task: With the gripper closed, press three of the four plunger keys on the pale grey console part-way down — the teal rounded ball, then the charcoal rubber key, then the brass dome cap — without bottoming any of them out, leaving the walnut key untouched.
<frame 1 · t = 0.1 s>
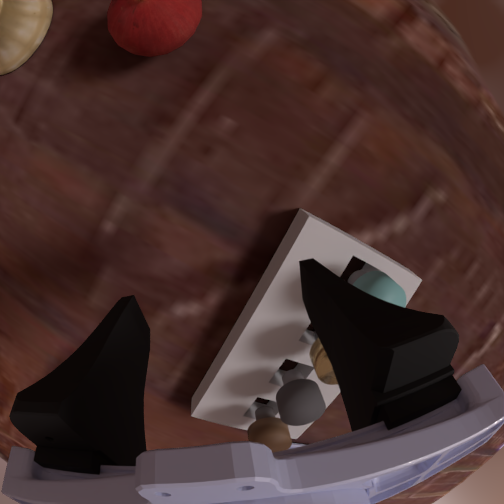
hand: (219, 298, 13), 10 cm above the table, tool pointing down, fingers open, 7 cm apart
walnut key: (267, 428, 25), point 5 cm above the table, slide at 0.0 cm
hand bell: (16, 31, 15), on the table
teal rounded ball: (370, 293, 21), point 5 cm above the table, slide at 0.0 cm
console: (297, 341, 27), on the table
brass dome cap: (332, 348, 22), point 5 cm above the table, slide at 0.0 cm
onion: (163, 32, 17), on the table
charcoal key: (297, 393, 23), point 5 cm above the table, slide at 0.0 cm
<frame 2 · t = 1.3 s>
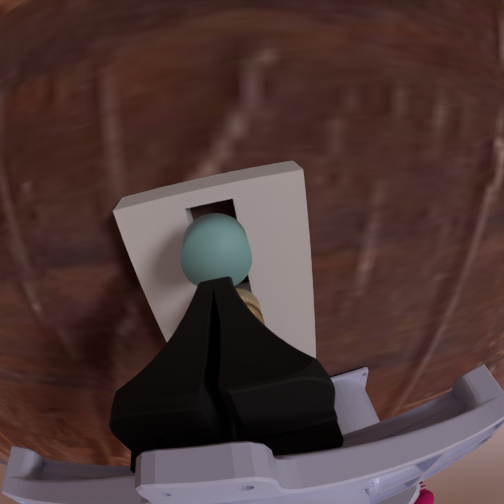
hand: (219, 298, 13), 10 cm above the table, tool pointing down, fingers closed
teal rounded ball: (215, 242, 17), point 5 cm above the table, slide at 0.0 cm
pepper mill: (393, 442, 51), on the table
console: (234, 300, 26), on the table
brass dome cap: (232, 309, 20), point 5 cm above the table, slide at 0.0 cm
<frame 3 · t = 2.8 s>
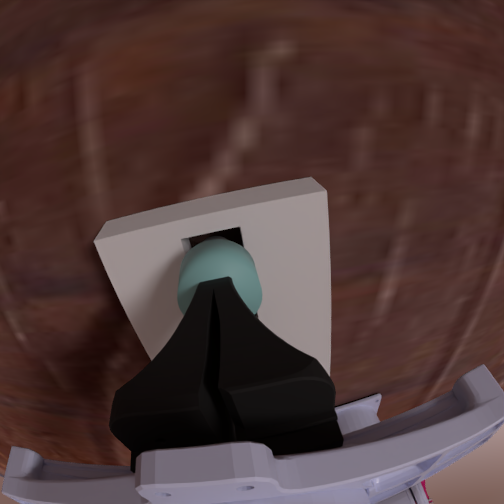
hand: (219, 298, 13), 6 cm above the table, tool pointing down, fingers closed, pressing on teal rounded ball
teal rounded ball: (217, 272, 15), point 4 cm above the table, slide at 1.0 cm, touching gripper
console: (239, 334, 22), on the table
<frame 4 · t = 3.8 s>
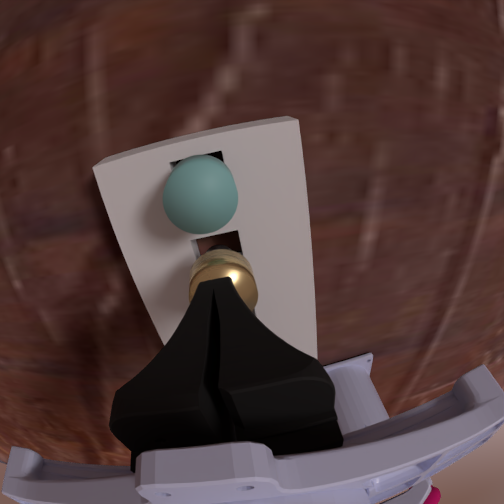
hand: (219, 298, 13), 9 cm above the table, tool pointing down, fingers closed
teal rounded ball: (200, 186, 16), point 4 cm above the table, slide at 1.2 cm
pepper mill: (397, 437, 49), on the table
console: (226, 272, 23), on the table
brass dome cap: (221, 276, 18), point 5 cm above the table, slide at 0.0 cm
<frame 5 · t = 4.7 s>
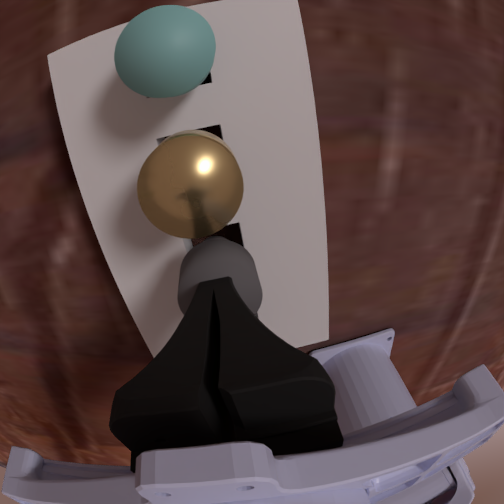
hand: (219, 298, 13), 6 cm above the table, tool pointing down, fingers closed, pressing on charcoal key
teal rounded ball: (170, 56, 10), point 4 cm above the table, slide at 1.2 cm
console: (207, 202, 18), on the table
brass dome cap: (192, 174, 12), point 5 cm above the table, slide at 0.0 cm
charcoal key: (217, 272, 15), point 4 cm above the table, slide at 0.5 cm, touching gripper
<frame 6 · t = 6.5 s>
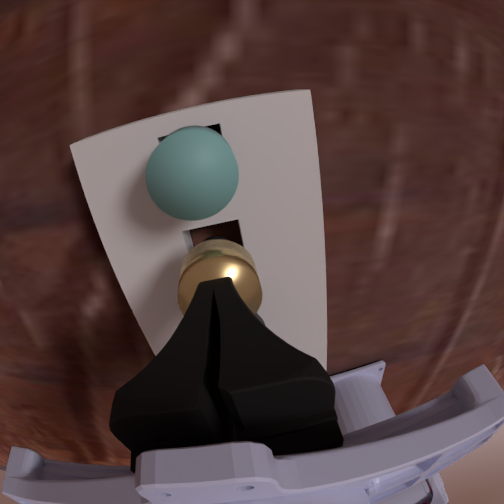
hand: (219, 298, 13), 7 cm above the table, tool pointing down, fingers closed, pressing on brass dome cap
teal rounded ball: (193, 165, 13), point 4 cm above the table, slide at 1.2 cm
console: (224, 271, 20), on the table
brass dome cap: (217, 272, 15), point 5 cm above the table, slide at 0.1 cm, touching gripper
charcoal key: (235, 330, 18), point 4 cm above the table, slide at 1.2 cm
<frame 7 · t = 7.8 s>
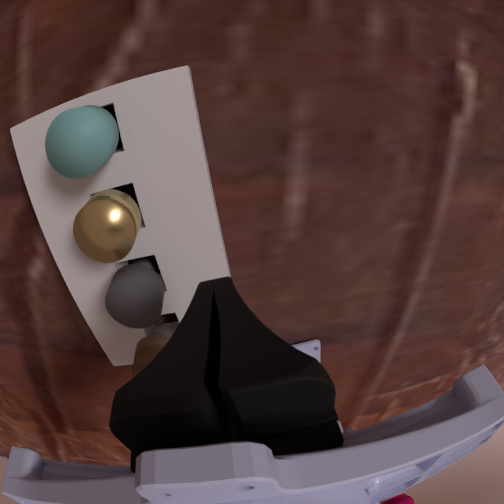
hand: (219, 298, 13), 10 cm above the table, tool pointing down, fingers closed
walnut key: (160, 351, 21), point 5 cm above the table, slide at 0.0 cm
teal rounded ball: (89, 136, 14), point 4 cm above the table, slide at 1.2 cm
pepper mill: (370, 439, 47), on the table
console: (138, 235, 22), on the table
brass dome cap: (112, 217, 17), point 4 cm above the table, slide at 1.2 cm
charcoal key: (138, 286, 19), point 4 cm above the table, slide at 1.2 cm
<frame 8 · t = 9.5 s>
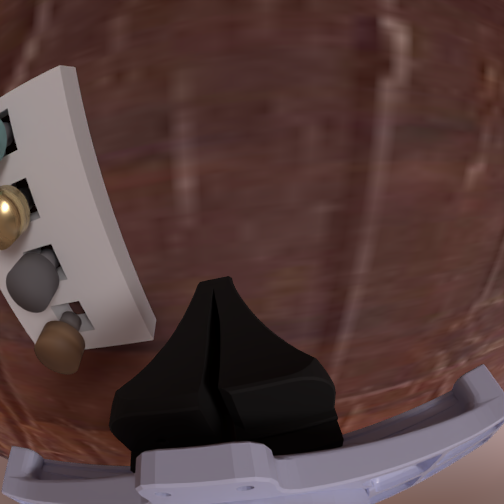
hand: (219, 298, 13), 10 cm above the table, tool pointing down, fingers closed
walnut key: (64, 337, 19), point 5 cm above the table, slide at 0.0 cm
console: (47, 227, 20), on the table
brass dome cap: (10, 210, 15), point 4 cm above the table, slide at 1.2 cm
charcoal key: (38, 274, 18), point 4 cm above the table, slide at 1.2 cm
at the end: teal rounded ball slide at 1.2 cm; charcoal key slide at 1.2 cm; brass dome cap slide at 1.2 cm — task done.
